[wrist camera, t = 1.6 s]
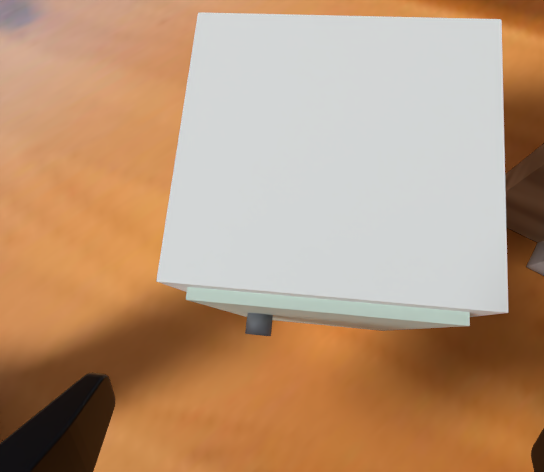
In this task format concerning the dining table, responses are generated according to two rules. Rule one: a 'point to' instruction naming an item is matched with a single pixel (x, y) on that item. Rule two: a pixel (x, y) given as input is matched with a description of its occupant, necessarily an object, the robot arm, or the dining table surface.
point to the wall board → (528, 203)
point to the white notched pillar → (341, 172)
